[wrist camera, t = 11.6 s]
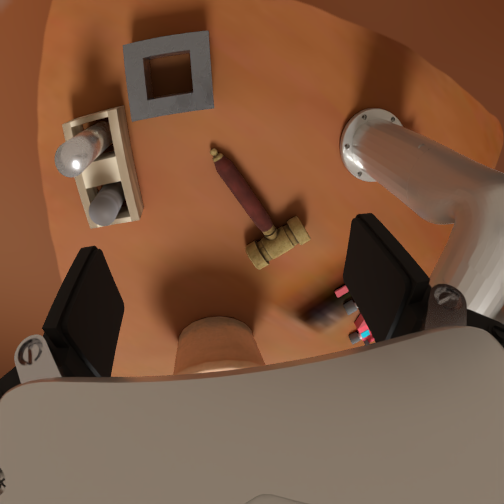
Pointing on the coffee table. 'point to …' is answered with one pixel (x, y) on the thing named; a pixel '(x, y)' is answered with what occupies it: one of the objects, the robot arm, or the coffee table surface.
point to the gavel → (260, 217)
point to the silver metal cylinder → (83, 149)
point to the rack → (109, 174)
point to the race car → (360, 322)
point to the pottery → (216, 347)
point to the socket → (141, 80)
